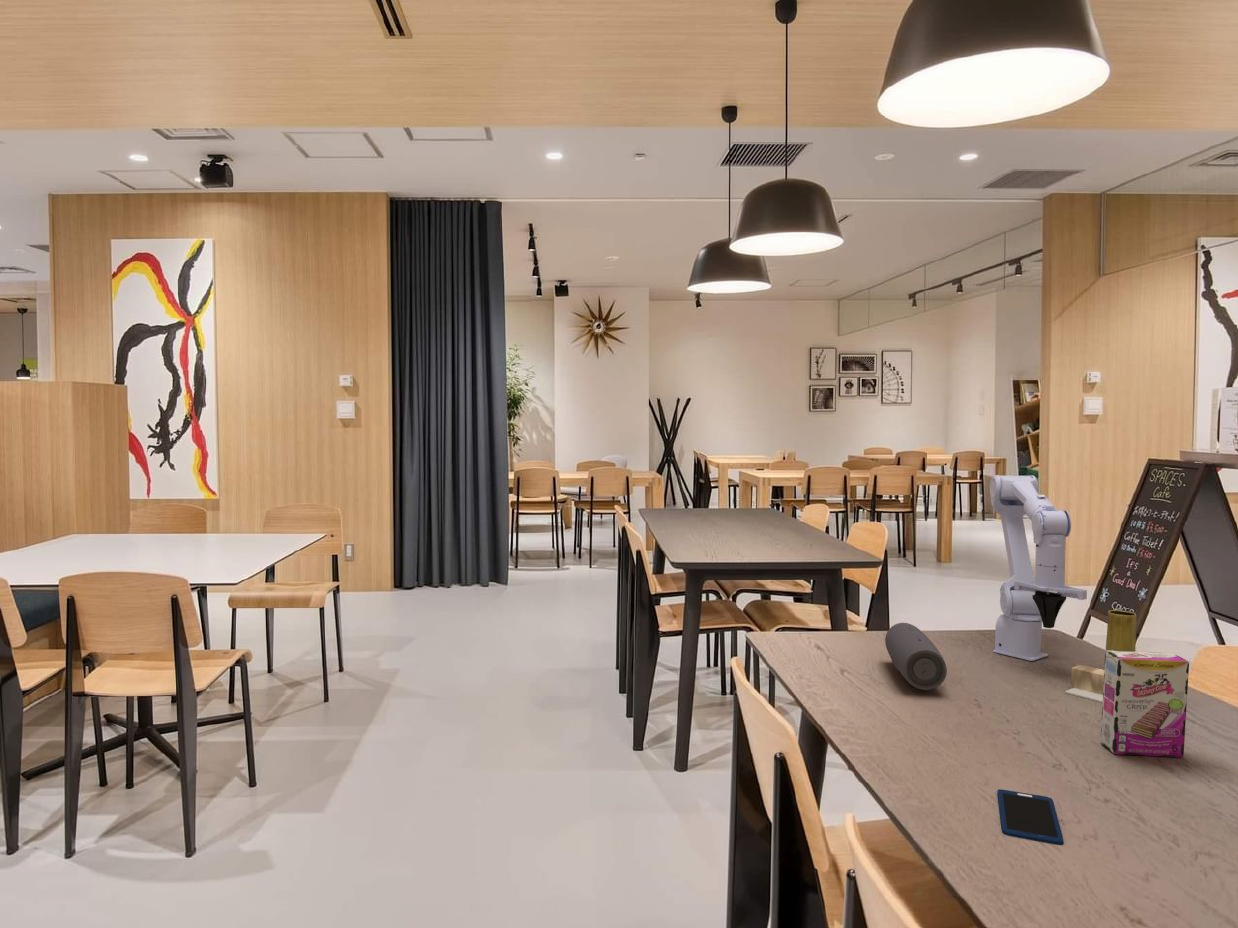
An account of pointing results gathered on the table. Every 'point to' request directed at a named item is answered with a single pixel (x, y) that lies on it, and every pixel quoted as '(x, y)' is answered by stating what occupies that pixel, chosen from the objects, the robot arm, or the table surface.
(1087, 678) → the block
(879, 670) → the table surface
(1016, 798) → the cell phone
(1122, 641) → the vase
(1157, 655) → the candy bar box
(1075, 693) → the mat
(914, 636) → the bluetooth speaker
